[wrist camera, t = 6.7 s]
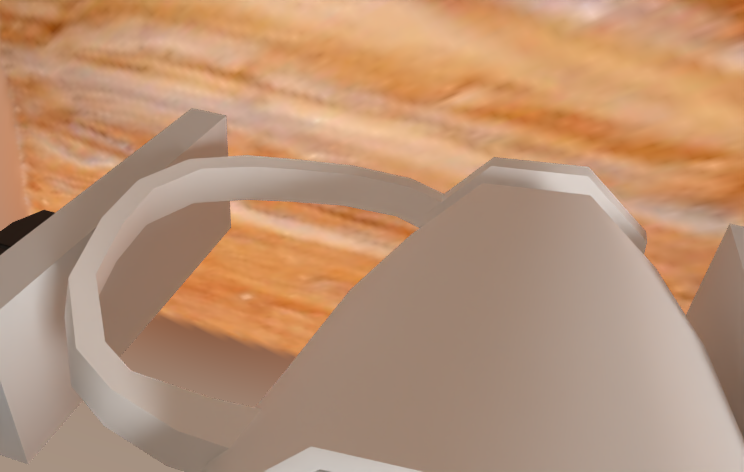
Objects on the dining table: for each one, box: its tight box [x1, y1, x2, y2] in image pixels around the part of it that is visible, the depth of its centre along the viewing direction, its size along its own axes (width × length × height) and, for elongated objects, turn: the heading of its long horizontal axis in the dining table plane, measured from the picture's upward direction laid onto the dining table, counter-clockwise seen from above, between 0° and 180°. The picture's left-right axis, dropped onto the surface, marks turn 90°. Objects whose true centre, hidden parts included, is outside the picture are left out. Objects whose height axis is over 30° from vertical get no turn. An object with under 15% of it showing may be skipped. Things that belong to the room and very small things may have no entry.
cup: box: [64, 155, 744, 472], centre depth 10 cm, size 7×10×8 cm
